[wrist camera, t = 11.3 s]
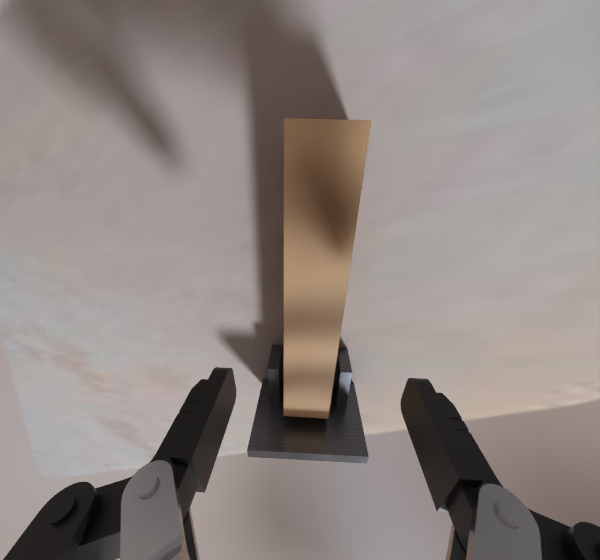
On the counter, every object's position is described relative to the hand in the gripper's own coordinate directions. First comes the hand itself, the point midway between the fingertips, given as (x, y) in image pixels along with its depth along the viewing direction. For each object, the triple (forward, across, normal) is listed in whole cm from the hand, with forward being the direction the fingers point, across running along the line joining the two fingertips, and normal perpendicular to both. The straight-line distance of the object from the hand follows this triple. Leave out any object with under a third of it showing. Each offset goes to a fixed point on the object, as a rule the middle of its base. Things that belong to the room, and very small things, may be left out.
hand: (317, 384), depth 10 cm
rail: (+10, 0, 0) cm, 10 cm away
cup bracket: (+10, 0, +10) cm, 14 cm away
